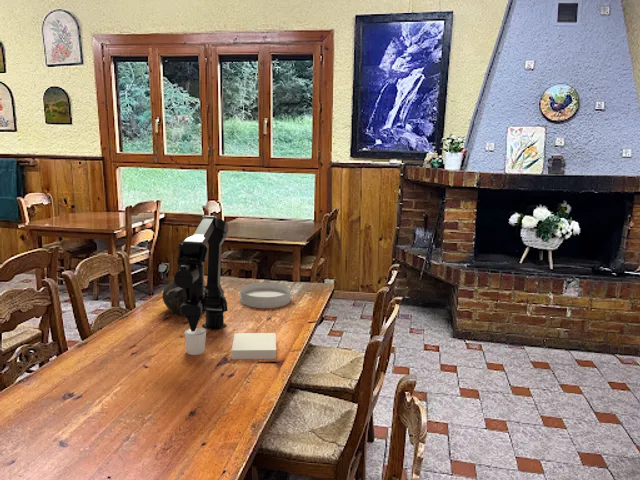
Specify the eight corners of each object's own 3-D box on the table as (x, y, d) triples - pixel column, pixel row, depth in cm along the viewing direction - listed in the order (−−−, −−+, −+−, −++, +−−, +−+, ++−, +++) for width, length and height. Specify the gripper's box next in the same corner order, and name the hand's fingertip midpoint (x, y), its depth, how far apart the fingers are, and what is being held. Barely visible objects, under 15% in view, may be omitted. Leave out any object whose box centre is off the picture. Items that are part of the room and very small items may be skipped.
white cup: (200, 356, 153) (200, 336, 152) (180, 354, 154) (180, 333, 153) (209, 348, 160) (209, 328, 158) (190, 345, 161) (190, 326, 160)
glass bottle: (184, 321, 183) (183, 249, 177) (153, 311, 192) (150, 242, 186) (217, 308, 198) (217, 242, 192) (186, 300, 207) (185, 236, 201)
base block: (231, 359, 152) (231, 350, 152) (234, 341, 166) (234, 333, 165) (275, 358, 154) (276, 350, 153) (275, 341, 167) (275, 333, 167)
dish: (230, 304, 204) (230, 293, 203) (252, 290, 225) (252, 280, 224) (279, 311, 198) (279, 299, 197) (297, 296, 218) (297, 285, 217)
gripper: (174, 271, 161) (175, 315, 164) (161, 287, 142) (163, 337, 146) (208, 271, 162) (208, 315, 165) (200, 288, 144) (200, 337, 147)
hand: (195, 325), depth 155 cm, fingers open, 9 cm apart
